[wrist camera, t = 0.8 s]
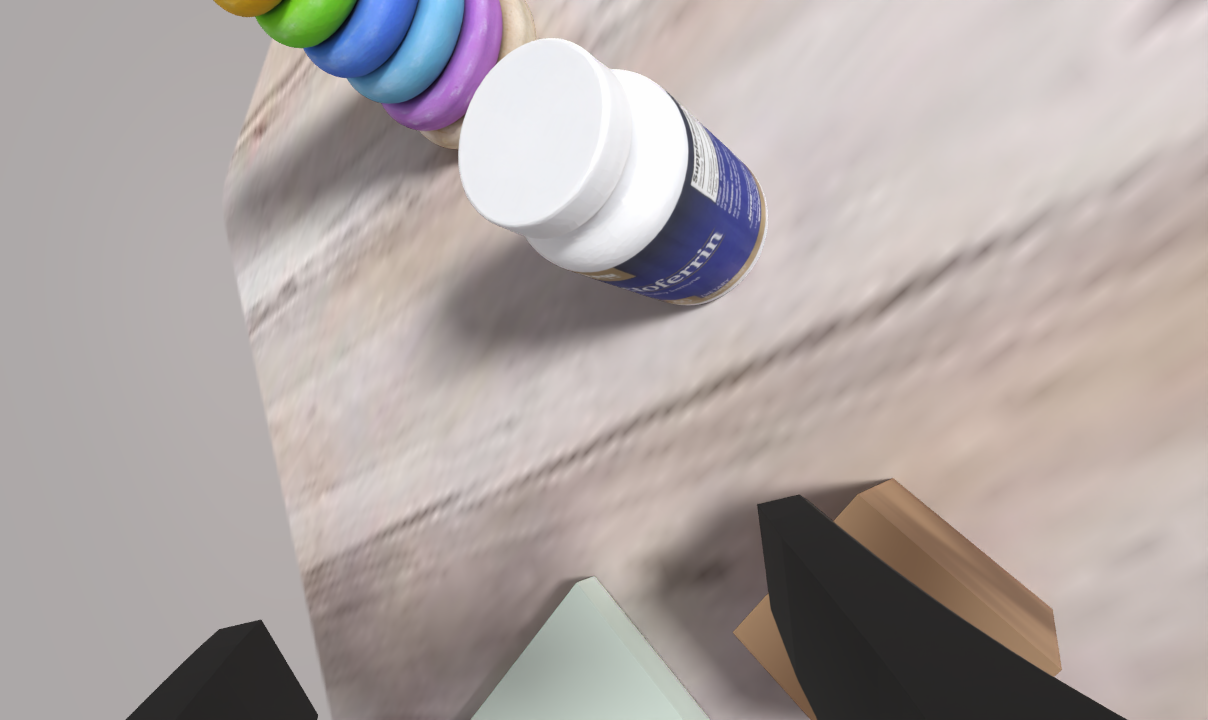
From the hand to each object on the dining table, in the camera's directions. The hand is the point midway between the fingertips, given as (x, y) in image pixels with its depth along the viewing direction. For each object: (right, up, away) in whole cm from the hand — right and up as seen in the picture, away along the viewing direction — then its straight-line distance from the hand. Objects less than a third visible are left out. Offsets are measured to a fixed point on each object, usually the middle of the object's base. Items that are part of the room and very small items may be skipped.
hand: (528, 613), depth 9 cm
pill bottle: (+5, +8, +15) cm, 18 cm away
